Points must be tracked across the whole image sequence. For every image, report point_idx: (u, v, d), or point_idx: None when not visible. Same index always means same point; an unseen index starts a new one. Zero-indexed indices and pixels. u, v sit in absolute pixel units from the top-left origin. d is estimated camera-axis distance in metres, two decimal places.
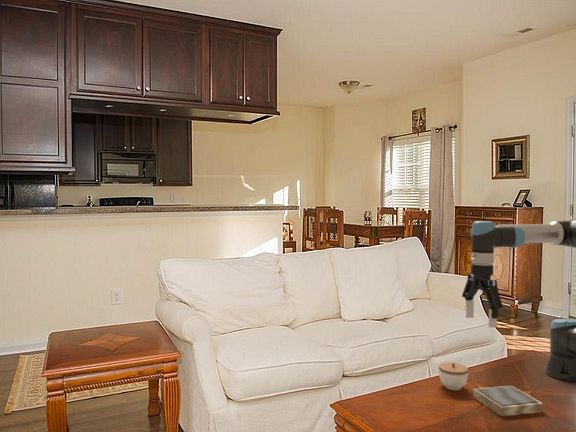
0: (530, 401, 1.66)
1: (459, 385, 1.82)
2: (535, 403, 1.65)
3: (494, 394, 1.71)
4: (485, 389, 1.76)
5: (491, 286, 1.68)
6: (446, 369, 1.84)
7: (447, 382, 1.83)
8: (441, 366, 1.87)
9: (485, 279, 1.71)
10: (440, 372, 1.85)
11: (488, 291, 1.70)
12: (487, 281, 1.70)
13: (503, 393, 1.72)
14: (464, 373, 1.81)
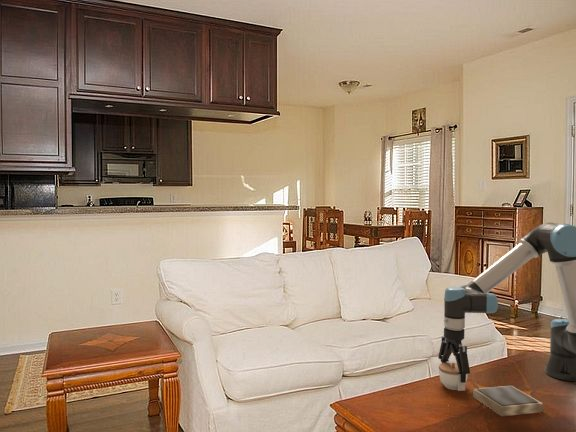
0: (530, 401, 1.66)
1: None
2: (535, 403, 1.65)
3: (494, 394, 1.71)
4: (485, 389, 1.76)
5: (461, 352, 1.79)
6: (446, 369, 1.84)
7: (447, 382, 1.83)
8: (441, 366, 1.87)
9: (456, 343, 1.82)
10: (440, 372, 1.85)
11: (458, 355, 1.82)
12: (458, 346, 1.81)
13: (503, 393, 1.72)
14: None
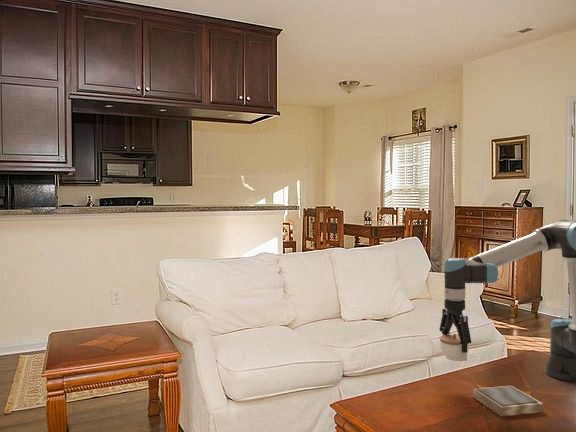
0: (530, 401, 1.66)
1: None
2: (535, 403, 1.65)
3: (494, 394, 1.71)
4: (485, 389, 1.76)
5: (462, 322, 1.79)
6: (447, 340, 1.83)
7: (448, 353, 1.82)
8: (442, 337, 1.86)
9: (457, 314, 1.81)
10: (441, 343, 1.85)
11: (459, 326, 1.81)
12: (459, 316, 1.81)
13: (503, 393, 1.72)
14: None
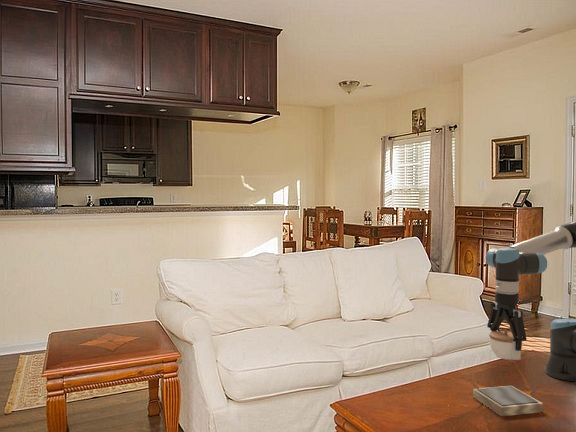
0: (530, 401, 1.66)
1: None
2: (535, 403, 1.65)
3: (494, 394, 1.71)
4: (485, 389, 1.76)
5: (516, 317, 1.64)
6: (498, 336, 1.68)
7: (500, 351, 1.67)
8: (492, 334, 1.71)
9: (510, 308, 1.67)
10: (491, 340, 1.70)
11: (513, 321, 1.67)
12: (512, 311, 1.66)
13: (503, 393, 1.72)
14: None
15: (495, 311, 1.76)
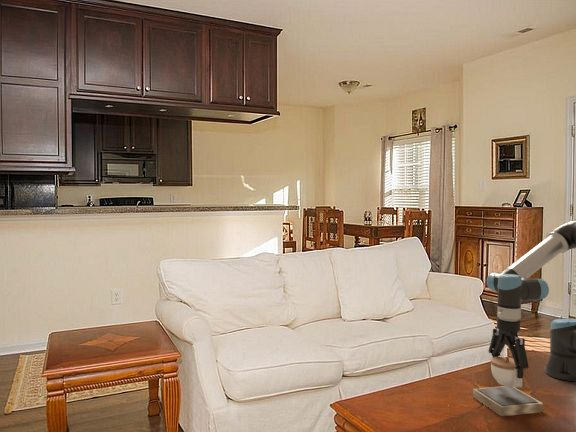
0: (530, 401, 1.66)
1: None
2: (535, 403, 1.65)
3: (494, 394, 1.71)
4: (485, 389, 1.76)
5: (518, 345, 1.63)
6: (500, 363, 1.68)
7: (501, 378, 1.67)
8: (494, 360, 1.71)
9: (512, 336, 1.66)
10: (493, 367, 1.70)
11: (514, 349, 1.66)
12: (514, 338, 1.66)
13: (503, 393, 1.72)
14: None
15: (496, 337, 1.76)
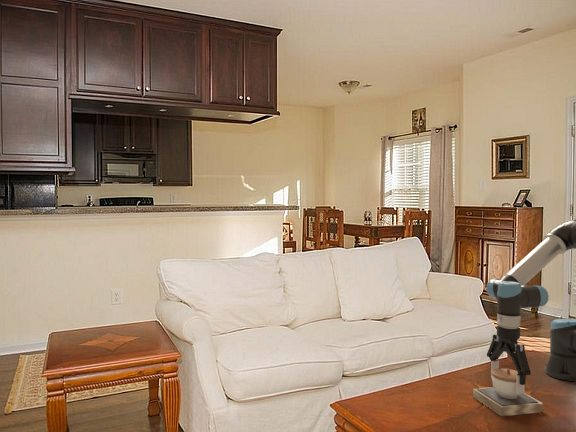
0: (530, 401, 1.66)
1: (515, 393, 1.66)
2: (535, 403, 1.65)
3: (494, 394, 1.71)
4: (485, 389, 1.76)
5: (519, 351, 1.63)
6: (500, 375, 1.68)
7: (502, 390, 1.67)
8: (495, 372, 1.71)
9: (512, 343, 1.66)
10: (494, 379, 1.70)
11: (515, 355, 1.66)
12: (514, 345, 1.66)
13: None
14: None
15: (496, 342, 1.76)
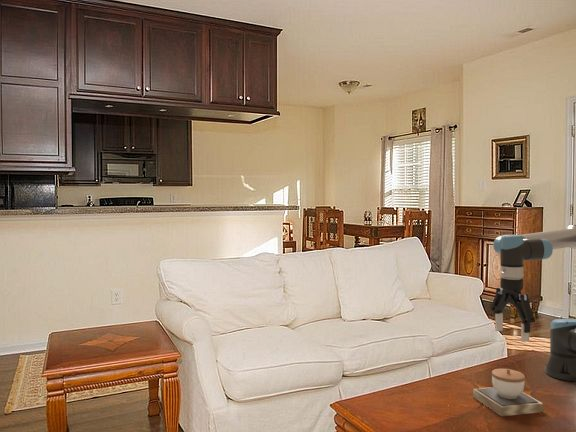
0: (530, 401, 1.66)
1: (515, 393, 1.66)
2: (535, 403, 1.65)
3: (494, 394, 1.71)
4: (485, 389, 1.76)
5: (523, 300, 1.68)
6: (500, 375, 1.68)
7: (502, 390, 1.67)
8: (494, 372, 1.71)
9: (516, 293, 1.71)
10: (494, 379, 1.70)
11: (519, 305, 1.70)
12: (518, 295, 1.70)
13: None
14: (521, 380, 1.66)
15: (499, 295, 1.80)
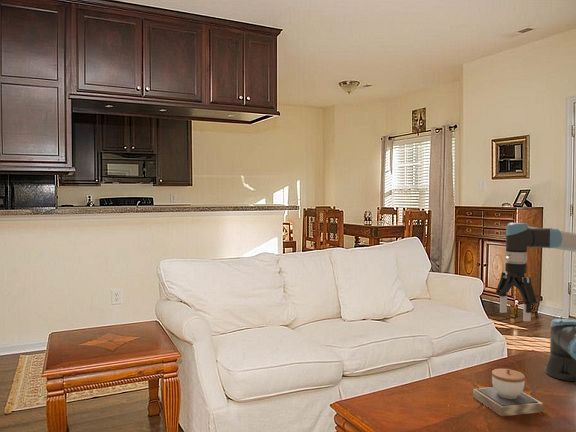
0: (530, 401, 1.66)
1: (515, 393, 1.66)
2: (535, 403, 1.65)
3: (494, 394, 1.71)
4: (485, 389, 1.76)
5: (525, 283, 1.81)
6: (500, 375, 1.68)
7: (502, 390, 1.67)
8: (494, 372, 1.71)
9: (519, 276, 1.85)
10: (494, 379, 1.70)
11: (522, 287, 1.84)
12: (521, 278, 1.84)
13: None
14: (521, 380, 1.66)
15: (504, 279, 1.94)
